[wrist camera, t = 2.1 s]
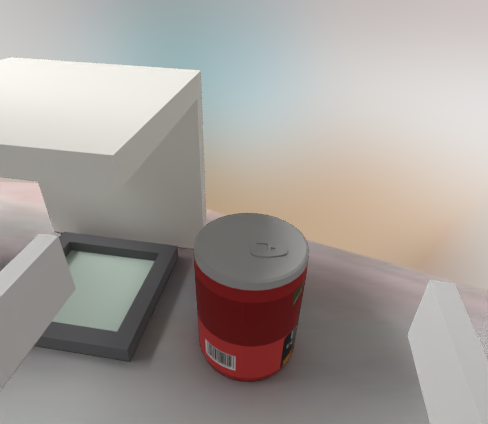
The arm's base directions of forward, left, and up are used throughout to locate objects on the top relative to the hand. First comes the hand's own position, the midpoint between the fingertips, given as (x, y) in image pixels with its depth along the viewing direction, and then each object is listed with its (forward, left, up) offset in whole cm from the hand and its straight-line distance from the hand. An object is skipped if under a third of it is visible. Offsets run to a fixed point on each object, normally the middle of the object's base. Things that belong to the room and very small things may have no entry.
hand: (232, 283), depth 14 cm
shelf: (-21, 0, -17) cm, 27 cm away
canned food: (-7, +8, -18) cm, 20 cm away
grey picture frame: (-21, 0, -17) cm, 27 cm away
